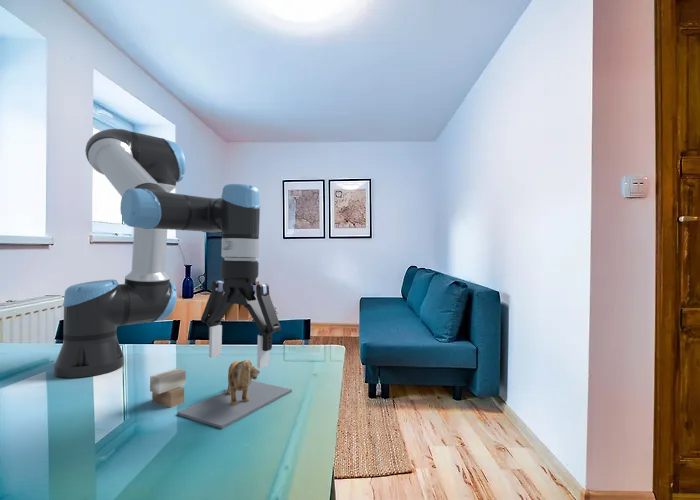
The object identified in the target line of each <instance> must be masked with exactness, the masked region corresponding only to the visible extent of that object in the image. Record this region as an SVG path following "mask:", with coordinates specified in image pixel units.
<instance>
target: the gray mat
mask: <svg viewBox="0 0 700 500" xmlns="http://www.w3.org/2000/svg"><path fill="white" fill-rule="evenodd" d="M292 391H293V389H291V388H288V387H282V386H278V385H273V384H270V383H265V382H261V381H257V380H251V384H250V385H249V386H248V390H247V398H249V401H247V402H243V400H242V394H243V391H238V390H236V400H237V402H236V405H230V402H231V394H228V395H226V394H225V393H226V391H223V392H221V393H219V394H217V395H214V396H211V397H209V398H207V399H205V400H202V401H199V402H197V403H196V404H193V405H190V406H188V407H186V408H183V409H181V410H178V411H177V413H176V414H177V415H178V416H180V417H184V418H187V419H190V420H194V421H196V422H200V423H202V424H205V425H208V426H212V427H215V428H218V429H221V430H222V429H225V428H226V427H228V426H230V425H232V424H234V423H235V422H238V421H239V420H242V419H243V418H245V417H247V416H249V415H251V414H252V413H254V412H256V411H258V410H260V409H263V408H264V407H266V406H268V405H269V404H271V403H273V402H275V401H276V400H279V399H280V398H283V397H284V396H286V395H289V394H290V393H293V392H292Z"/></svg>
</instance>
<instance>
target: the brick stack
mask: <svg viewBox="0 0 700 500" xmlns="http://www.w3.org/2000/svg"><path fill="white" fill-rule="evenodd" d="M186 374H187V371H186V370H185V369H180V368H174V369H170V370H167V371H163V372H160V373H157V374H154V375H151V376H150V378H149V391H150V392H151V393H152V395H151V397H152V400H151V402H152V403H154V404H155V403H156V404H158V405H162V406H165V407H168V408H174V407H176V406H179V405H181V404H183V403H185V388H184V387H183V386H186V385H187V384H186V381H187V380H186V379H187V377H186V376H187V375H186Z"/></svg>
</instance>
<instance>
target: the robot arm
mask: <svg viewBox="0 0 700 500" xmlns="http://www.w3.org/2000/svg"><path fill="white" fill-rule="evenodd" d="M85 156H86V159H87V161H88V163H89V164H90V166H91V167H92V169H94V170H95V171H96V172H97V173H99V174H101V175H104V176H105V178H106V179H107V180H108V181H109V183H110V184H111V185H112V186H113V187H114V189H115V190H116V191H117V193H118V194H119V195H120V197H121V201H120V206H119V207H120V208H119V209H120V215H121V219H122V222H123V223H124V224H125V225H127V226H128V227H132V228H133V243H132V244H133V245H132V254H131V256H132V258H131V271H130V272H129V273H128V274H126V275H125V276H124V283H122V284H119V282H118V280H116V279H103V280H101V279H100V280H94V281H93V280H92V281H86V282H80V283H76V284H73V285H70V286H68V287H66V289H65V291H64V295H63V296H64V297H63V303H62V307H63V342H62V346H61V348H60V351H59V353H58V356H57V357H56V358H57V359H56V361H55V363H54V366H53V369H54V370H53V375H54V374H55V375H56V376H55V375H54V376H55V377H57V376H59V377H58V378H63V377H65V379H66V378H67V379H68V378H70V379H71V378H73V379H74V378H85V377H92V376H97V375H98V376H99V375H102V374H107V373H110V372H113V371H116V370H118V369H121V368H122V367H124V363H125V362H124V361H125V357H124V352H123V351H122V347H121V346H120V343H119V340H118V335H117V331H118V329H117V328H118V327H121V326H127V325H128V326H129V325H136V324H144V323H155V322H159V321H164V320H166V319H168V318H169V317H170V316H171V315H172V314H173V312H174V310H175V308H176V305H177V301H178V300H177V299H178V291H177V288H176V286H175V284H174V282H172V281H170V279H171V278H170V276H169V275H168V274H167V273H166V271H165V270H166V255H167V254H166V253H167V241H168V230H174V231H189V232H190V231H192V232H201V233H211V234H215V233H221V253H220V254H221V258H224V260H222V261H221V262H220V277H221V278H222V279H223V280H214V281H212V283H211V291H210V294H209V297H208V298H207V302H206V305H205V307H204V310H203V312H202V316H201V318H200V321H201V323H204V324H206V325H207V327H208V328H207V330H208V332H207V333H208V334H207V335H208V336H207V339H208V341H209V347H208V348H209V350H208V352H209V353H208V357H209V358H211V359H212V358H213V359H214V358H215V357H218V356H222V354H223V353H222V352H223V351H222V350H223V347H222V345H223V344H222V343H223V339H222V338H223V337H222V336H223V325H222V322H221V321H222V319H223V318H224V316H225V315H226V314H227V313H228V311H229V310H230V308H231V306H232V305H234V304H236V305H238V306H239V305H240V306H243V307H244V308H246V309H247V311H248V313H249V314H250V316H251V318H252V319H253V322H254V323H255V325H256V326H257V329H258V330H259V332H260V333H259V334H257V346H256V347H257V348H256V349H257V353H256V355H257V357H256V367H257V368H256V369H262V368H265V367H267V366H270V350H272V348H273V334H274V333H277V332H280V331H281V330H282V327H281V324H280V321H279V318H278V315H277V313H276V309H275V307H274V304H273V300H272V299H271V298H272V297H271V295H270V286H269V284H268V283H261V284H259V283H258V284H257V281H256V280H257V278H258V277H259V264H260V263H259V261H258V260H257V259H258V258H259V257H260V236H259V235H260V215H261V204H260V202H261V201H260V191H259V190H260V189H258V187H256V186H253V185H250V184H243V183H242V184H241V183H229V184H225V186H223V188H222V191H221V192H222V193H221V197H219V198H217V197H216V198H212V197H204V196H195V195H190V194H189V195H188V194H182V193H173V192H172V191H173V190H174V189H176V187H177V183H179V182H181V181H183V179H184V177H185V174H186V169H187V168H186V166H187V165H186V157H185V153H184V151H183V149H182V147H181V146H180V145H179V144H178V143H176V142H175V141H171V140H168V139H166V138H163V137H157V136H153V135H149V134H148V135H147V134H144V133H140V132H135V131H131V130H128V129H122V128H107V129H104V130H100V131H98V132H96V133H94V134H93V135H92V136H91V137H90V138H89V140H88V141H87V142H86V145H85Z"/></svg>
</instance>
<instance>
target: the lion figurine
mask: <svg viewBox="0 0 700 500" xmlns="http://www.w3.org/2000/svg"><path fill="white" fill-rule="evenodd" d="M255 367H256V366H254V365H252V361H251V360H247V359H246V360H245V359H244V360H241V361H237V360H235V361H233V362H231V363H230V366H229V367H228V373H227V380H228V381H227V382H228V383H227V384H228V385H227V390H225V392H226V393H225V394H226V395H228V394H231V402H230V405H236V402H237V400H236V390H238V391H243V394H242V400H243V402H247V401H249V398H247V390H248V386H249V385H250V384H251V381H257V379H258V376H259V375H260V373H261V371H260V370H258V368H255Z"/></svg>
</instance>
